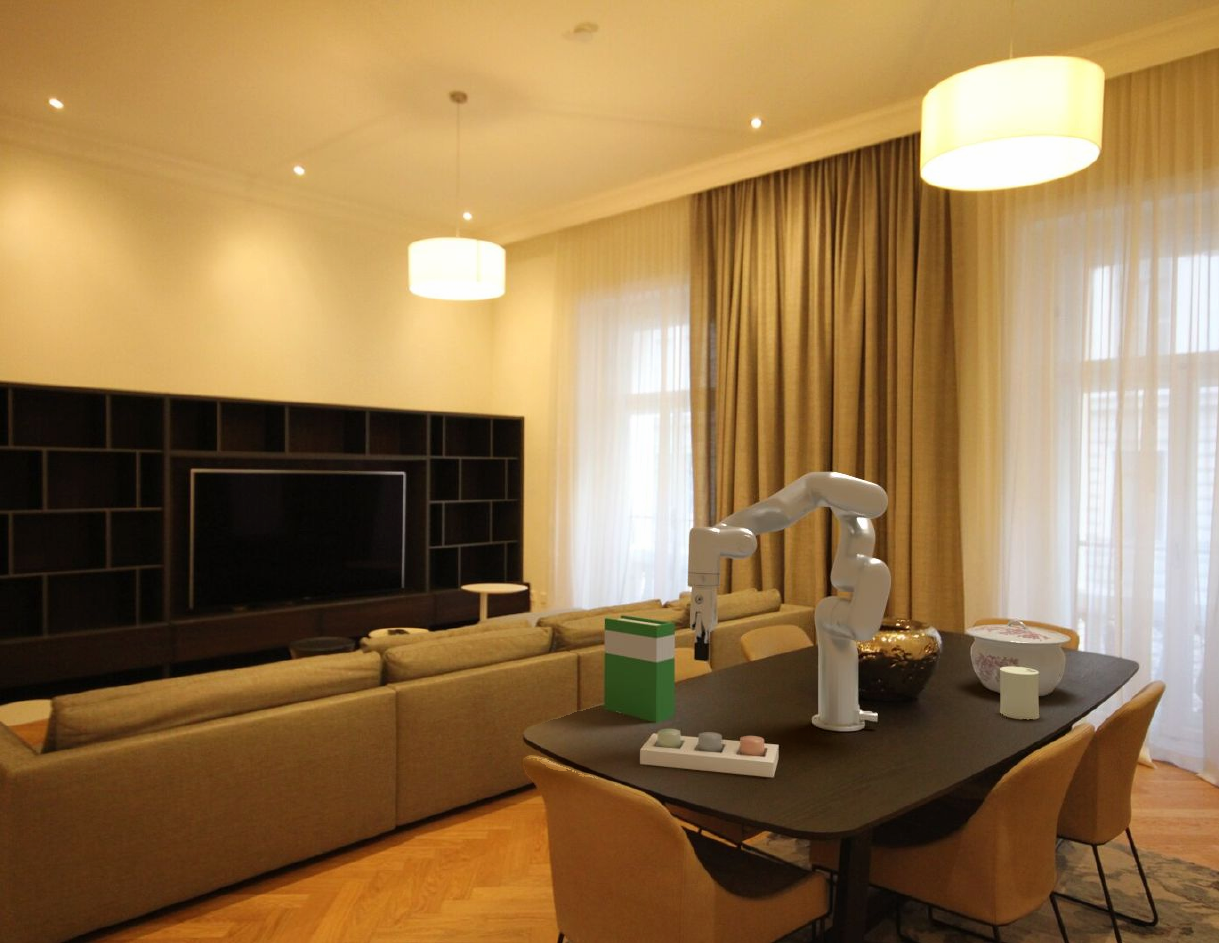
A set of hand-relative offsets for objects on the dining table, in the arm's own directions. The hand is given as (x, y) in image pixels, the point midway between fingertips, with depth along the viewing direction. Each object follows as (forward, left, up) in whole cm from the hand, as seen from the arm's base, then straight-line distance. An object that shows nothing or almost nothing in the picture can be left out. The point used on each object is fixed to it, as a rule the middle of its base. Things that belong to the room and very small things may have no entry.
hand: (701, 659), depth 191 cm
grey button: (-4, +12, -18) cm, 22 cm away
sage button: (+5, +12, -18) cm, 22 cm away
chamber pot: (-79, -73, -19) cm, 109 cm away
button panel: (-4, +12, -19) cm, 23 cm away
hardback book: (+20, -20, -19) cm, 34 cm away
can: (-75, -47, -19) cm, 91 cm away
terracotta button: (-13, +12, -18) cm, 25 cm away
